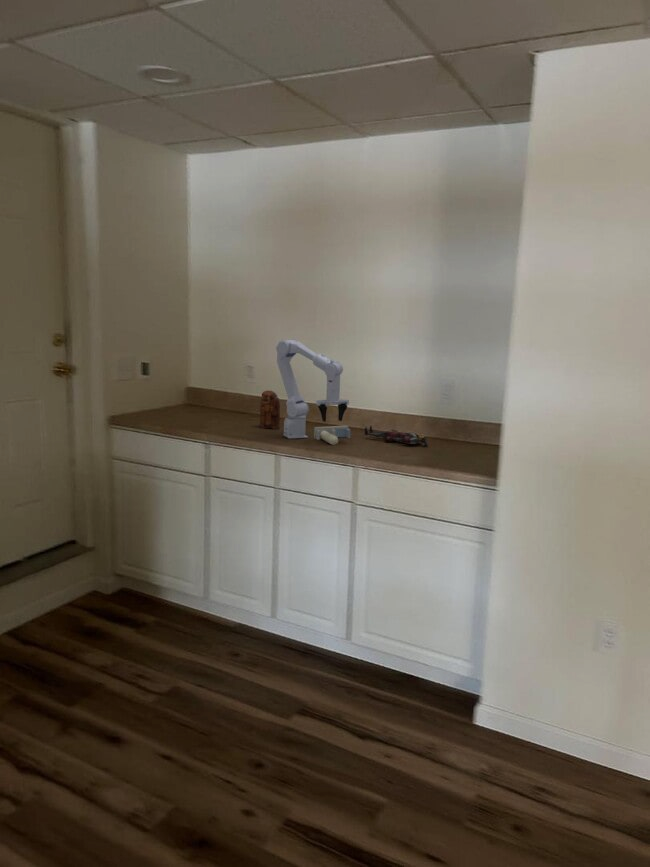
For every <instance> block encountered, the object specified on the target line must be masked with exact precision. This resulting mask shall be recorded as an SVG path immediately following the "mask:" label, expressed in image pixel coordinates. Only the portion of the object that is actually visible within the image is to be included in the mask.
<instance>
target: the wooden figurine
mask: <svg viewBox="0 0 650 867" xmlns="http://www.w3.org/2000/svg"><path fill="white" fill-rule="evenodd" d="M280 403H281V402H280V399H279V397H278V395H277V393H276V392H275V391H273V390H269V389H268V390H264V391H262V392H261V399H260V409H259V410H260V411H259V427H260V428H262V429H271V430H277V429H280V422H281V421H280V419H281V415H280V411H281V410H280V408H281V404H280Z"/></svg>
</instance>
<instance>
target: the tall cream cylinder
mask: <svg viewBox="0 0 650 867" xmlns="http://www.w3.org/2000/svg"><path fill="white" fill-rule="evenodd" d="M320 440H322V441H325V442H326V443H329V444H330V445H337V444H338V443H339V437H336V436H334V435H332V434H330V433H328V432H327V431H322V432H321V433H320Z"/></svg>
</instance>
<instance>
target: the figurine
mask: <svg viewBox="0 0 650 867" xmlns="http://www.w3.org/2000/svg"><path fill="white" fill-rule="evenodd" d="M364 435H365V436H367V435H368V436H373V437H376V438H382V439H383V440H384V441H383V442H393V441H395V442H399V443H404V444H406V445H417V444H419V443H422V444H424V445H423V446H424V447H425V448H428V446H429V445H428V443H427V438H426V436H424V435H422V434H420V435H419V434H417V433H414V432H403V431H398V430H396V429H393V428H392V429H390V430H389V429H388V430H386V431H385V430H384V431H373V426H371V425H370V426H369V431H368V427H364Z"/></svg>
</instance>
